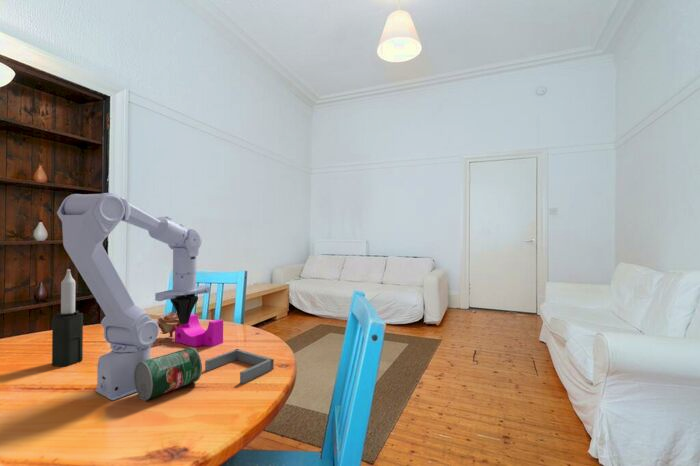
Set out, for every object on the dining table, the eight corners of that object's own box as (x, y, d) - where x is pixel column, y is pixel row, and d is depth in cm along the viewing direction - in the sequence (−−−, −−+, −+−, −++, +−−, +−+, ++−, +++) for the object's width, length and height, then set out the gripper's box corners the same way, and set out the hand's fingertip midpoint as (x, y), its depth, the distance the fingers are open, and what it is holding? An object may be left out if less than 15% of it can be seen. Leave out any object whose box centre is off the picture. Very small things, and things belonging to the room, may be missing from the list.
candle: (65, 367, 85) (66, 270, 85) (49, 365, 86) (50, 269, 86) (84, 359, 90) (85, 268, 90) (69, 358, 91) (70, 267, 91)
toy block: (174, 341, 107) (175, 318, 107) (192, 336, 112) (192, 314, 112) (206, 349, 100) (206, 324, 100) (223, 343, 105) (223, 320, 105)
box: (242, 383, 77) (243, 373, 77) (205, 370, 84) (205, 360, 84) (273, 368, 86) (273, 359, 86) (236, 357, 93) (237, 348, 93)
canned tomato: (184, 344, 80) (134, 358, 72) (202, 350, 76) (150, 366, 67) (184, 376, 80) (134, 394, 71) (202, 385, 76) (150, 405, 67)
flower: (157, 335, 112) (157, 311, 113) (187, 331, 116) (187, 309, 116) (153, 343, 104) (153, 318, 104) (186, 339, 107) (186, 315, 107)
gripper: (166, 277, 81) (165, 332, 81) (217, 271, 94) (216, 319, 94) (150, 275, 85) (150, 327, 85) (201, 270, 98) (201, 316, 98)
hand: (184, 323), depth 90 cm, fingers closed
